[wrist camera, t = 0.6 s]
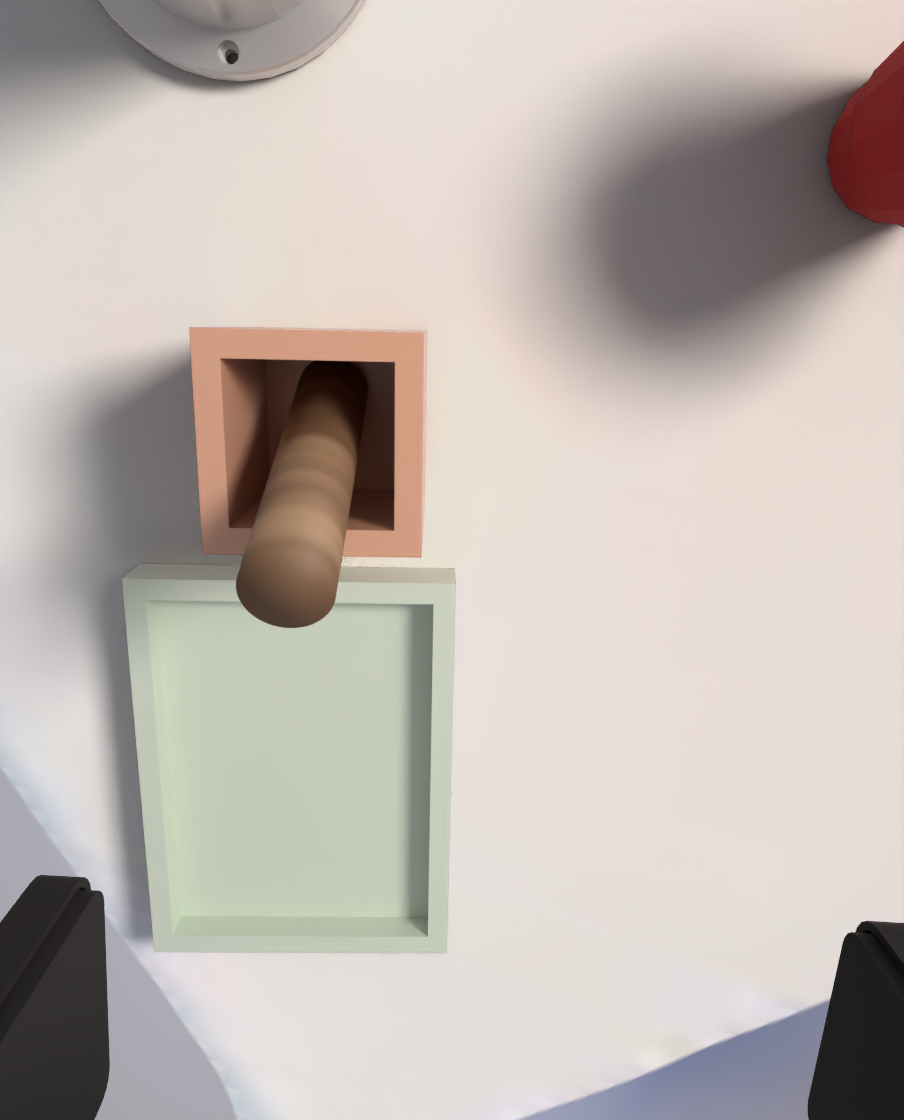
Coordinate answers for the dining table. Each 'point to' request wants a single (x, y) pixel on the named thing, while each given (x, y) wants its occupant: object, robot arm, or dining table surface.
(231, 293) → the dining table surface
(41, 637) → the dining table surface
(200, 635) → the tray
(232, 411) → the pink square bin
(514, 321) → the dining table surface
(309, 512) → the dowel
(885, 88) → the plastic cup
